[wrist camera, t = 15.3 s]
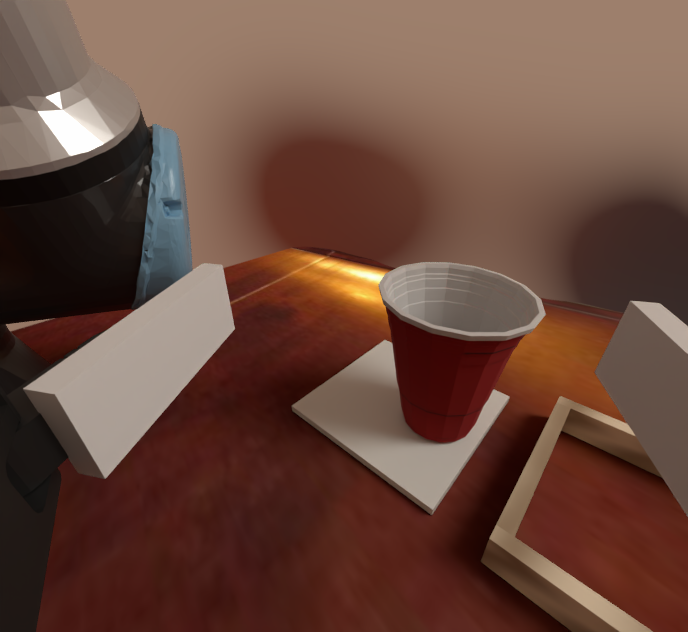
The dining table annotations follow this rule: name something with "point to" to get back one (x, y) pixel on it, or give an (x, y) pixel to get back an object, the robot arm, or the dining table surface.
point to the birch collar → (533, 569)
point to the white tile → (390, 428)
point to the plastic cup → (452, 340)
